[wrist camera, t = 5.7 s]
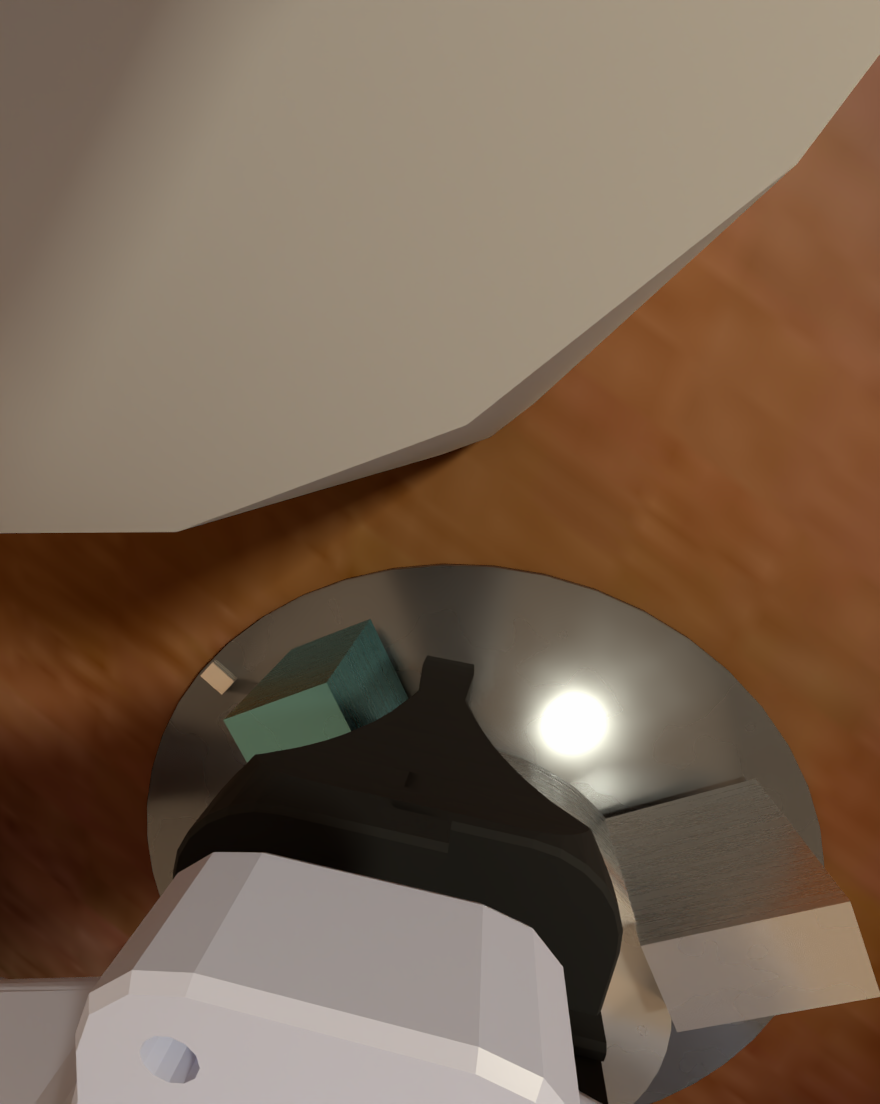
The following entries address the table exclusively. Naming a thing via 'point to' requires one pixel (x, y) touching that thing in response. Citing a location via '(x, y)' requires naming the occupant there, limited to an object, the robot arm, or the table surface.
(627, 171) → the can
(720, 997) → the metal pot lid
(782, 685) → the table surface
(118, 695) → the table surface
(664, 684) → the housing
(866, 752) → the table surface
